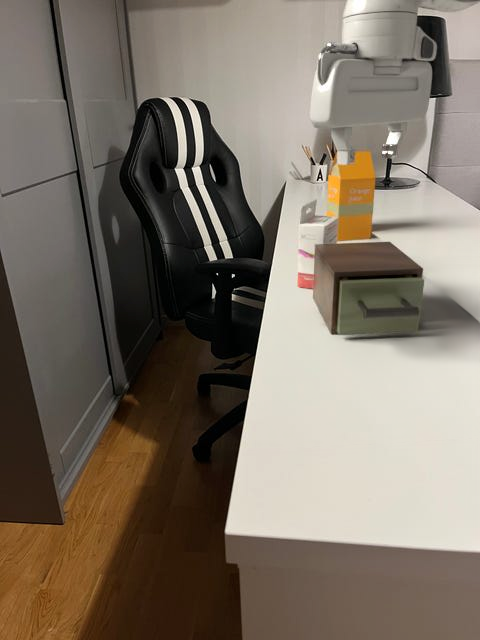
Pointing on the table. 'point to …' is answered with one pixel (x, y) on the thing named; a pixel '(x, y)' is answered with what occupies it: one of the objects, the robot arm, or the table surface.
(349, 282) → the drawer
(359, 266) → the cabinet
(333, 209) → the orange juice
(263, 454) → the table surface
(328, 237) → the ink cartridge box
